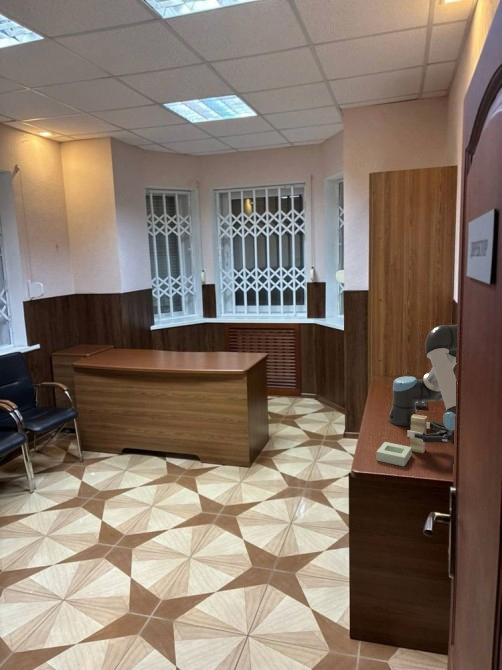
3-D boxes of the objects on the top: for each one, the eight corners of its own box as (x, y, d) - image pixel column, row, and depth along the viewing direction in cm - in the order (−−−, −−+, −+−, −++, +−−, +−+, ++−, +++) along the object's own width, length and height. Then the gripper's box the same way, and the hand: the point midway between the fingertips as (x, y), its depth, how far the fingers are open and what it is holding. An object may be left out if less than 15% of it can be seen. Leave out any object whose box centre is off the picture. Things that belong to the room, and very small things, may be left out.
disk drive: (427, 410, 264) (425, 402, 278) (427, 406, 264) (425, 397, 278) (407, 409, 267) (406, 400, 281) (408, 404, 267) (407, 396, 281)
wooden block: (411, 447, 216) (413, 414, 213) (425, 450, 213) (427, 416, 210) (409, 450, 212) (411, 417, 210) (423, 453, 209) (425, 419, 206)
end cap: (384, 450, 214) (384, 441, 213) (411, 455, 207) (411, 447, 207) (376, 460, 204) (376, 451, 203) (404, 466, 197) (404, 457, 197)
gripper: (456, 456, 192) (403, 446, 203) (466, 435, 212) (417, 426, 223) (457, 439, 190) (404, 429, 201) (467, 419, 211) (418, 411, 222)
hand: (411, 428), depth 212 cm, fingers open, 13 cm apart
